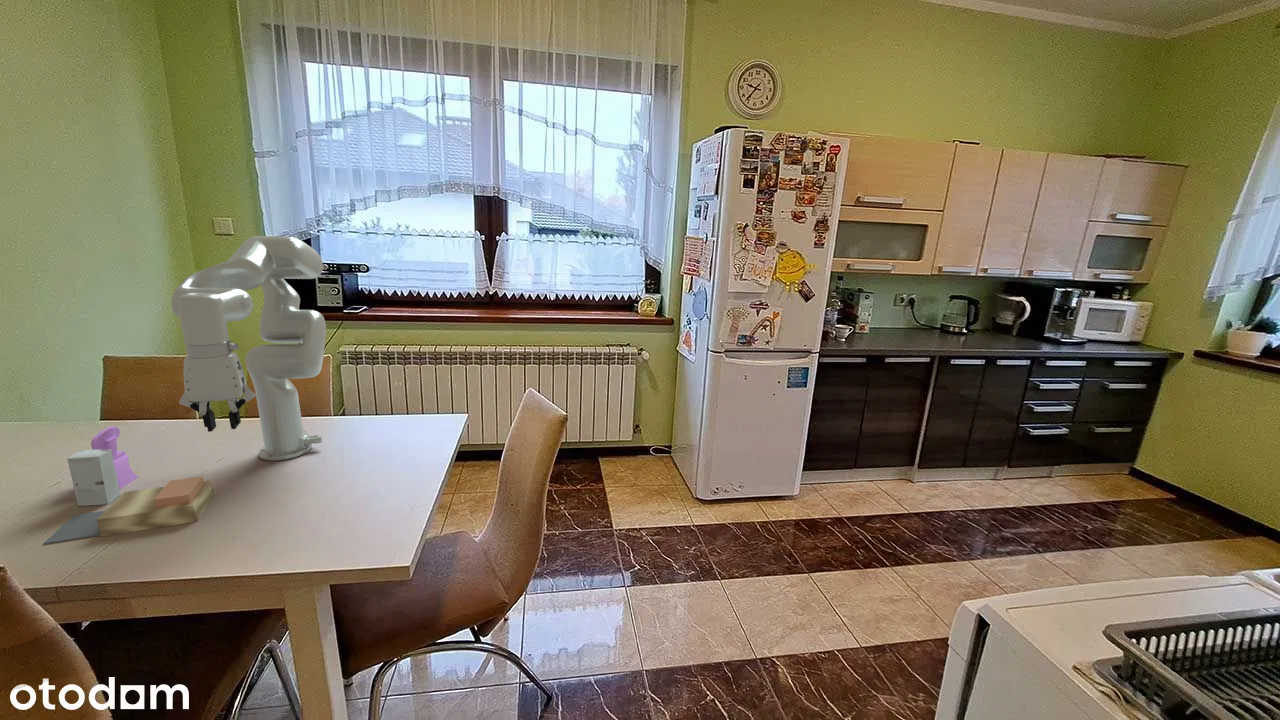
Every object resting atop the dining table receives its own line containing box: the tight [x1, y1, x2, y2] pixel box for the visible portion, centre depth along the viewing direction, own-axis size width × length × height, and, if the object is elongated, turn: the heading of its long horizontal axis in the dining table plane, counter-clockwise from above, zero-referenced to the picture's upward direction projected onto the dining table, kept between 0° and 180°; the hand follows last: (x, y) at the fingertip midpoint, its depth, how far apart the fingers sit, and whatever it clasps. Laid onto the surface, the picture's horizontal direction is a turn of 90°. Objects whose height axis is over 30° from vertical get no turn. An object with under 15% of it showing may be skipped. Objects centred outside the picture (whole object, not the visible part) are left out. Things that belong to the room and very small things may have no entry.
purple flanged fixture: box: [90, 425, 139, 490], centre depth 126 cm, size 8×9×15 cm
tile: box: [154, 476, 204, 508], centre depth 117 cm, size 6×9×2 cm, turn 24°
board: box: [97, 480, 215, 537], centre depth 116 cm, size 16×12×4 cm
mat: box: [43, 510, 106, 545], centre depth 111 cm, size 9×11×1 cm
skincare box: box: [67, 449, 121, 507], centre depth 119 cm, size 6×4×12 cm
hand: (223, 427), depth 117 cm, fingers open, 3 cm apart
